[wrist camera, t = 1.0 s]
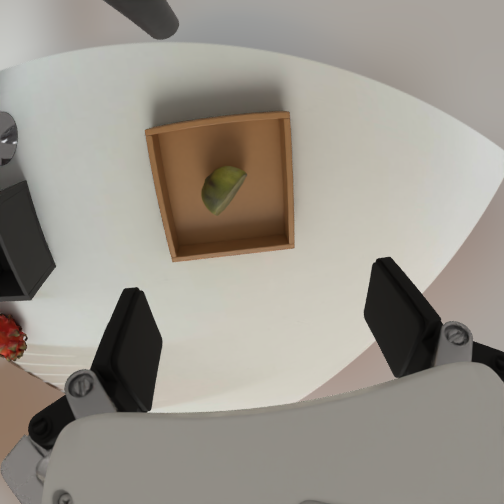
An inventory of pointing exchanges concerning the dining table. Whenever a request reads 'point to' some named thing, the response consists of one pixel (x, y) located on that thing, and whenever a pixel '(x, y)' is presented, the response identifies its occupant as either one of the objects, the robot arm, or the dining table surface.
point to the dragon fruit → (11, 339)
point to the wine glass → (7, 137)
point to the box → (246, 199)
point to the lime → (221, 188)
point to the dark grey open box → (21, 246)
